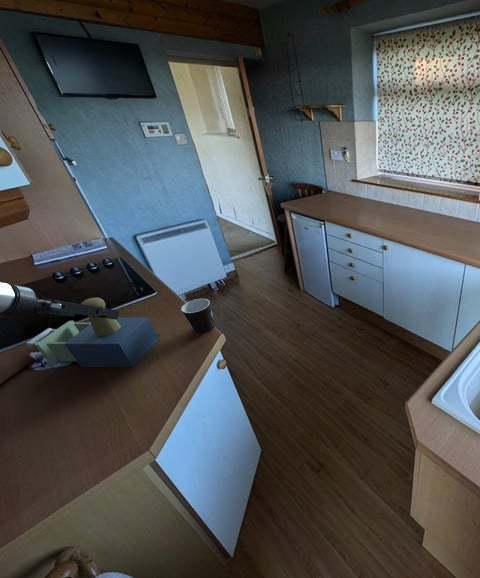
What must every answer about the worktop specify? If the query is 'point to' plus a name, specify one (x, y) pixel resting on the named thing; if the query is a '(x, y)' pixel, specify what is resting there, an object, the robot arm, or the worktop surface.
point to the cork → (101, 319)
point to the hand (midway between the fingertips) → (96, 313)
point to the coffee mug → (199, 315)
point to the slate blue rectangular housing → (114, 344)
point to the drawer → (57, 341)
